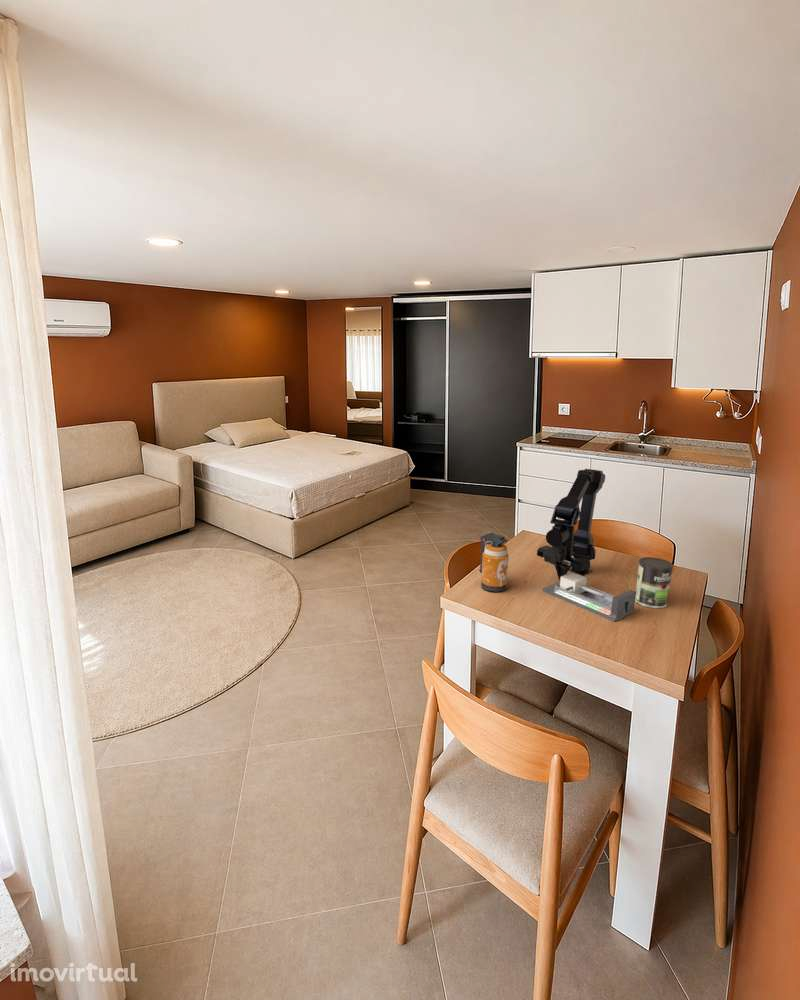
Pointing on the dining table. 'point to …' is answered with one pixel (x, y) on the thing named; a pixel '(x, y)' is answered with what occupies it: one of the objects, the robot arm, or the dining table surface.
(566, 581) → the white cube with rod
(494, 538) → the canister
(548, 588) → the gauge track
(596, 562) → the dining table surface
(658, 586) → the coffee can
